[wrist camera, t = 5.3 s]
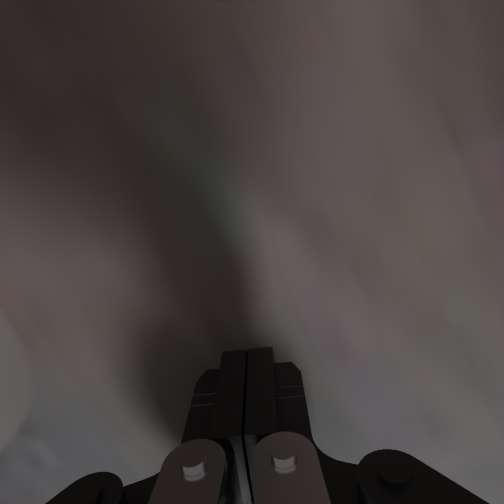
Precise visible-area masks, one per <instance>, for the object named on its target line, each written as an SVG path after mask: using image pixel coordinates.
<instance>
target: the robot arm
mask: <svg viewBox="0 0 504 504" xmlns="http://www.w3.org/2000/svg"><path fill="white" fill-rule="evenodd" d="M254 503H255V504H489V503H487V502H486V501H484V500H483V499H481V498H479V497H478V496H476V495H475V494H473V493H471V492H470V491H468V490H466V489H465V488H463V487H462V486H460V485H458V484H457V483H455V482H454V481H452V480H450V479H449V478H447V477H445V476H444V475H442V474H441V473H439V472H437V471H436V470H434V469H433V468H431V467H429V466H428V465H426V464H424V463H423V462H421V461H420V460H418V459H416V458H415V457H413V456H411V455H409V454H407V453H404V452H401V451H397V450H391V449H383V450H377V451H373V452H371V453H369V454H367V455H366V456H365V457H364V458H363V459H362V460H361V461H360V463H359V464H358V465H357V464H351V463H346V462H342V461H338V460H335V459H333V458H331V457H329V456H327V455H326V454H324V453H323V452H322V451H321V450H320V449H319V448H318V447H317V446H316V445H315V443H314V441H313V438H312V434H311V428H310V422H309V416H308V411H307V405H306V399H305V393H304V388H303V382H302V376H301V371H300V370H299V369H298V368H297V367H296V366H295V365H294V364H293V363H292V362H285V363H275V362H274V354H273V347H263V348H253V349H249V350H248V351H247V349H244V350H234V351H224V352H223V353H222V358H221V364H220V369H213V370H206V371H205V372H204V374H203V375H202V376H201V377H200V378H199V380H198V381H197V383H196V387H195V391H194V396H193V398H192V402H191V407H190V410H189V414H188V418H187V422H186V426H185V430H184V434H183V438H182V442H181V445H179V446H178V447H176V448H175V449H174V450H172V451H171V452H170V453H169V454H168V456H167V457H166V459H165V460H164V462H163V465H162V467H161V470H160V472H159V473H157V474H155V475H154V476H151V477H149V478H147V479H144V480H141V481H138V482H136V483H133V484H130V485H127V486H124V487H123V484H122V481H121V479H120V478H119V477H118V476H117V475H115V474H113V473H110V472H97V473H93V474H89V475H87V476H84V477H82V478H80V479H78V480H77V481H75V482H74V483H72V484H71V485H69V486H68V487H67V488H65V489H64V490H63V491H61V492H60V493H59V494H57V495H56V496H55V497H53V498H52V499H51V500H50V501H48V502H47V503H46V504H254Z"/></svg>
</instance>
